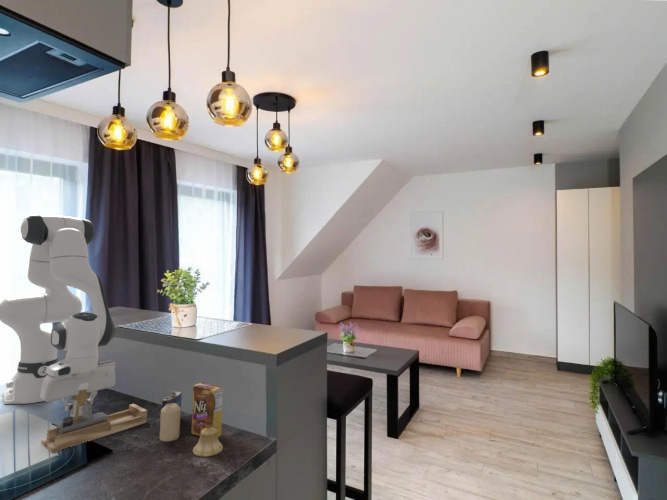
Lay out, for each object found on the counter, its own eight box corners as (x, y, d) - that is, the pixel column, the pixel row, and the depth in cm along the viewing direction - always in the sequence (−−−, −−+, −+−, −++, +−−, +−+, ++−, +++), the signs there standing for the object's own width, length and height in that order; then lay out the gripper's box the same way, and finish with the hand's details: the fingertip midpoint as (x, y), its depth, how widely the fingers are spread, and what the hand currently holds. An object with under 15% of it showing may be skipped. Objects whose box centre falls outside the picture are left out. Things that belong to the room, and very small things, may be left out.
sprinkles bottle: (85, 426, 118) (89, 383, 119) (68, 428, 116) (72, 385, 117) (85, 421, 122) (89, 379, 123) (68, 423, 120) (73, 381, 120)
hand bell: (207, 440, 112) (210, 386, 113) (229, 447, 109) (231, 391, 109) (186, 452, 105) (188, 395, 105) (208, 459, 101) (211, 400, 102)
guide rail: (41, 443, 107) (42, 428, 107) (133, 415, 128) (133, 403, 128) (52, 453, 102) (53, 438, 102) (146, 422, 123) (147, 410, 123)
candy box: (190, 434, 115) (192, 385, 116) (200, 429, 119) (202, 381, 120) (211, 441, 112) (214, 390, 112) (221, 435, 116) (224, 386, 116)
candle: (169, 443, 110) (171, 409, 110) (155, 439, 111) (157, 406, 112) (183, 435, 115) (184, 402, 115) (169, 432, 117) (170, 400, 117)
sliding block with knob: (56, 438, 108) (57, 410, 108) (101, 424, 118) (102, 399, 118) (61, 442, 106) (63, 413, 106) (106, 428, 115) (108, 402, 116)
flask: (175, 417, 128) (177, 385, 128) (183, 418, 128) (184, 386, 128) (159, 428, 119) (160, 394, 119) (167, 429, 118) (169, 395, 119)
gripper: (111, 356, 130) (109, 396, 130) (40, 368, 113) (37, 414, 113) (120, 359, 126) (117, 401, 126) (47, 372, 110) (44, 420, 109)
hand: (78, 407), depth 119 cm, fingers open, 4 cm apart
